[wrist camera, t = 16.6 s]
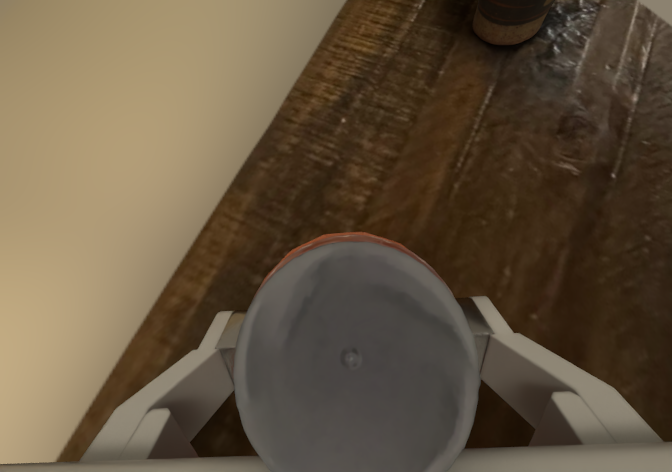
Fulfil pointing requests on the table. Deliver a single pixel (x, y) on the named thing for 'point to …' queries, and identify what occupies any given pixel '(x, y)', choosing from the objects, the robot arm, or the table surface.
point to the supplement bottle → (356, 362)
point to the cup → (509, 20)
